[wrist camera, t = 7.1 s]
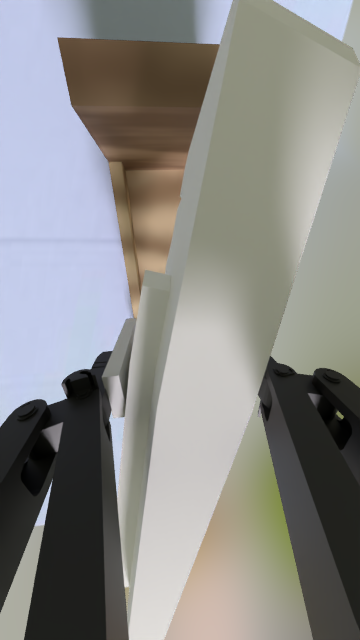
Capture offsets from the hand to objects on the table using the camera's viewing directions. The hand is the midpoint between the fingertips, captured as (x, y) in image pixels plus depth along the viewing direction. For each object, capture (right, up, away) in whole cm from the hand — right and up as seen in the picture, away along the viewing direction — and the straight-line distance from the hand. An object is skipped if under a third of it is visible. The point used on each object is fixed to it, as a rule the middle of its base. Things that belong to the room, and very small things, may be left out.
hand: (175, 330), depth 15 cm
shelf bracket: (-1, -1, +1) cm, 2 cm away
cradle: (-2, +8, +17) cm, 19 cm away
